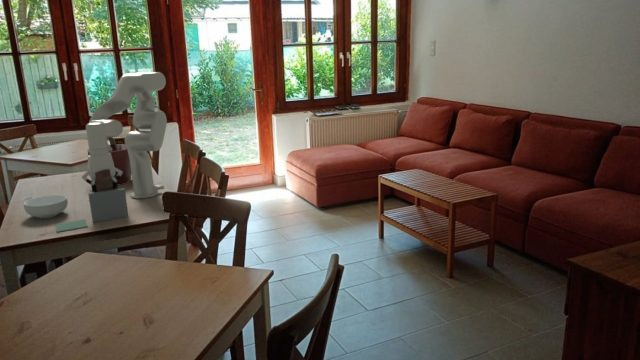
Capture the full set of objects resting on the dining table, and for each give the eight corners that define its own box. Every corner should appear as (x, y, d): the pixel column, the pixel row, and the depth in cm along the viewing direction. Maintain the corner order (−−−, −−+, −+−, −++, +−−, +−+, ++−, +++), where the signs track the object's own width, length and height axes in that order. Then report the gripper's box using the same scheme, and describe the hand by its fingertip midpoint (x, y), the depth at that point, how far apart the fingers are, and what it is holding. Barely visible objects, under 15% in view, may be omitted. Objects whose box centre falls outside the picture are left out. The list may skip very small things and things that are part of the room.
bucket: (124, 187, 257) (117, 140, 251) (81, 188, 258) (74, 141, 251) (141, 175, 281) (135, 132, 274) (102, 176, 281) (95, 132, 275)
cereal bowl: (78, 212, 221) (75, 196, 219) (44, 224, 206) (41, 208, 205) (51, 207, 228) (49, 193, 226) (17, 219, 213) (14, 203, 212)
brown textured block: (110, 216, 213) (104, 171, 208) (95, 215, 215) (88, 170, 210) (120, 210, 221) (114, 167, 215) (106, 210, 222) (99, 166, 217)
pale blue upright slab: (127, 214, 215) (124, 188, 212) (128, 216, 213) (124, 189, 210) (92, 220, 208) (88, 193, 205) (93, 222, 207) (88, 194, 204)
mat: (85, 220, 210) (85, 219, 210) (87, 227, 201) (87, 226, 201) (56, 225, 205) (55, 224, 205) (57, 232, 196) (57, 231, 196)
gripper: (119, 147, 218) (125, 186, 222) (75, 152, 210) (82, 193, 214) (122, 150, 211) (127, 190, 216) (77, 156, 203) (83, 197, 208)
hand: (105, 191), depth 215 cm, fingers closed on brown textured block, 7 cm apart
